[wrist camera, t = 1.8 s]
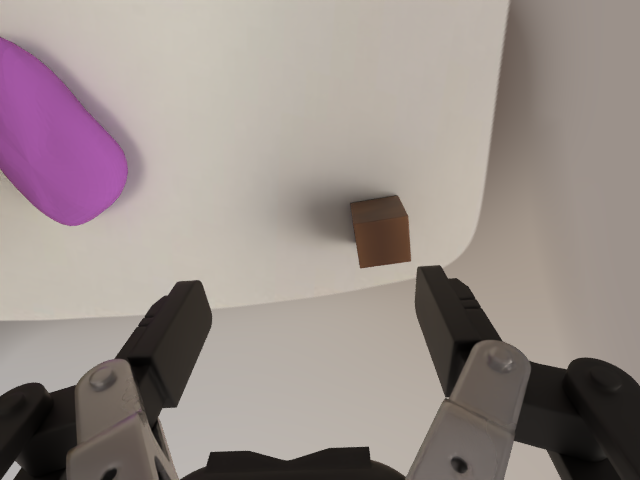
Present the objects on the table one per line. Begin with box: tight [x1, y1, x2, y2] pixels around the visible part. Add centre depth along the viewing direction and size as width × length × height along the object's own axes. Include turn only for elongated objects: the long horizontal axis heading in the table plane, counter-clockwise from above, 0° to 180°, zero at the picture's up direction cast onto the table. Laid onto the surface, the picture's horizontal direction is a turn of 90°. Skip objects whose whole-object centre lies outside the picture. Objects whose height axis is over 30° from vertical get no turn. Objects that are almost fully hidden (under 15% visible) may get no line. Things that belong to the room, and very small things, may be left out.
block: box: [350, 196, 411, 268], centre depth 29 cm, size 4×4×4 cm
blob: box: [0, 37, 128, 226], centre depth 25 cm, size 14×11×5 cm
